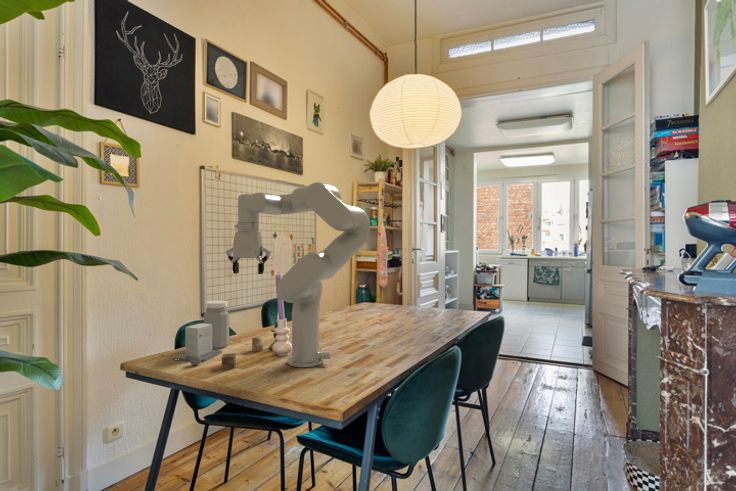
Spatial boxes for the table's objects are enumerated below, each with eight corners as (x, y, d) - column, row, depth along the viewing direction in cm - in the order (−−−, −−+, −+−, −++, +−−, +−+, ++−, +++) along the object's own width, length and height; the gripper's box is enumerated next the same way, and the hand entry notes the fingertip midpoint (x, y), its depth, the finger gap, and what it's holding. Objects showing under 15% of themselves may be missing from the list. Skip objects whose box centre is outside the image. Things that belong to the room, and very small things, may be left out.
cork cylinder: (264, 349, 160) (264, 336, 160) (260, 352, 156) (260, 339, 156) (254, 349, 160) (254, 336, 160) (250, 351, 156) (250, 338, 156)
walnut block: (235, 365, 140) (235, 353, 140) (234, 368, 136) (234, 356, 136) (223, 365, 139) (223, 354, 139) (221, 369, 135) (221, 357, 135)
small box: (200, 350, 155) (200, 322, 155) (212, 352, 153) (212, 323, 153) (184, 356, 147) (184, 327, 147) (197, 357, 145) (197, 328, 145)
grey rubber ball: (203, 363, 141) (203, 353, 141) (197, 366, 137) (197, 356, 137) (193, 363, 141) (193, 352, 141) (187, 366, 138) (187, 355, 138)
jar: (218, 350, 158) (218, 304, 157) (197, 348, 161) (197, 302, 161) (234, 344, 167) (234, 300, 167) (215, 342, 170) (215, 299, 170)
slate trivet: (221, 352, 155) (221, 350, 155) (204, 361, 143) (204, 359, 143) (192, 351, 157) (192, 349, 157) (173, 360, 145) (173, 357, 145)
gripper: (221, 227, 149) (221, 274, 150) (266, 227, 147) (266, 274, 147) (231, 228, 157) (231, 272, 157) (274, 228, 154) (274, 273, 155)
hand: (248, 273), depth 152 cm, fingers open, 9 cm apart
